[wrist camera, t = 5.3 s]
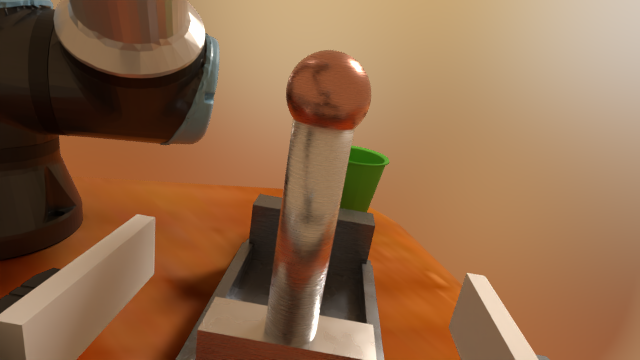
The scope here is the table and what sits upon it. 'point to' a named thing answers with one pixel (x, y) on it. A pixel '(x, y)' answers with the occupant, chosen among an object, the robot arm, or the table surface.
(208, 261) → the table surface
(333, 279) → the base
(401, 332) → the table surface
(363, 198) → the cup
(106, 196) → the table surface
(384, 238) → the table surface
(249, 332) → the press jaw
